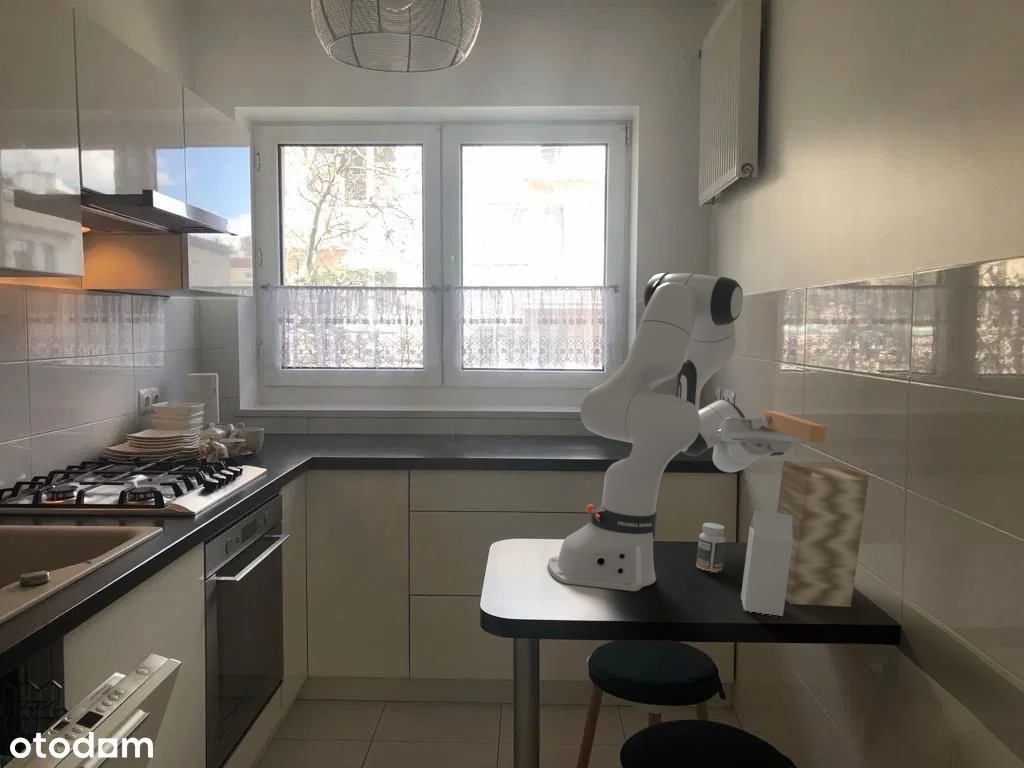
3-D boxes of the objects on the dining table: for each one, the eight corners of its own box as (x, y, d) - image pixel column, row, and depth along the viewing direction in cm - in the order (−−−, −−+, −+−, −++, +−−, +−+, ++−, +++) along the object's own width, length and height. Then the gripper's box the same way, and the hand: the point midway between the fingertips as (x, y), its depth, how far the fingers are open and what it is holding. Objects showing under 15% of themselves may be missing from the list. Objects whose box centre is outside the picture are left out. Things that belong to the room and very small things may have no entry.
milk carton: (782, 618, 145) (795, 520, 143) (743, 612, 146) (756, 514, 144) (777, 605, 152) (789, 511, 150) (740, 599, 153) (752, 506, 151)
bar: (808, 442, 156) (810, 425, 156) (760, 425, 178) (762, 410, 177) (824, 443, 157) (827, 426, 156) (774, 426, 178) (776, 411, 178)
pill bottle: (717, 565, 173) (722, 522, 172) (725, 574, 168) (730, 530, 167) (692, 563, 173) (697, 520, 172) (699, 572, 168) (704, 528, 167)
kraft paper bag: (790, 604, 153) (807, 471, 150) (767, 585, 163) (783, 460, 160) (850, 606, 155) (869, 475, 152) (824, 588, 165) (841, 464, 162)
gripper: (709, 424, 186) (733, 402, 173) (789, 430, 188) (818, 409, 176) (712, 449, 183) (736, 428, 170) (792, 455, 186) (822, 435, 173)
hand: (778, 419), depth 173 cm, fingers closed on bar, 3 cm apart
